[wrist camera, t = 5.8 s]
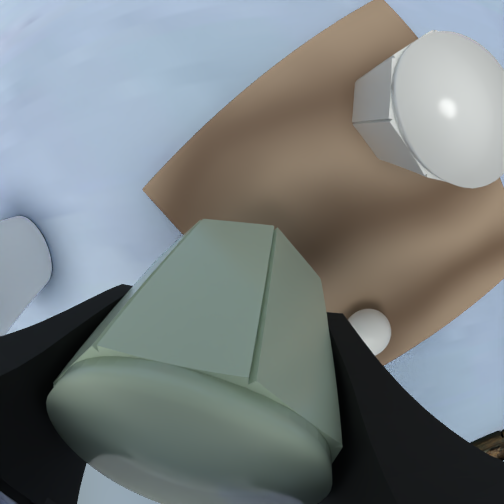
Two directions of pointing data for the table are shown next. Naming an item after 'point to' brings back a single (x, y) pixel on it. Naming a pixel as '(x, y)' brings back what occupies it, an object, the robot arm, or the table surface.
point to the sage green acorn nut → (210, 376)
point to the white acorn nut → (436, 110)
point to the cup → (21, 267)
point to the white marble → (372, 328)
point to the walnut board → (341, 188)
